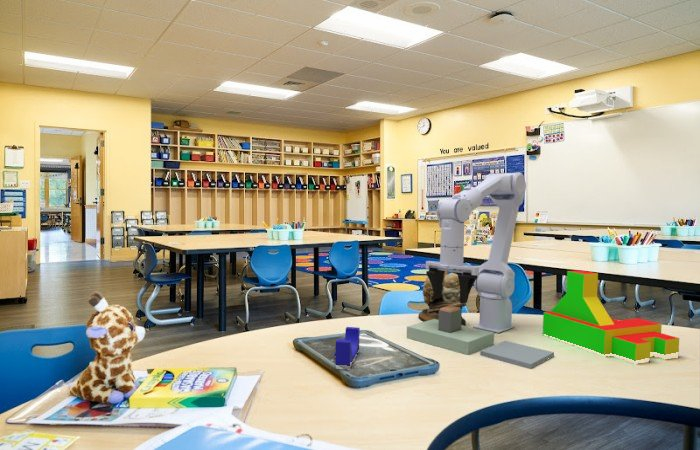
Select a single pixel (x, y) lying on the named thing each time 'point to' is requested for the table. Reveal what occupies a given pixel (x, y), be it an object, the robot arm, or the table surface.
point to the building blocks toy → (602, 323)
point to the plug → (450, 319)
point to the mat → (517, 354)
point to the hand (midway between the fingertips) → (450, 300)
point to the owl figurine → (447, 299)
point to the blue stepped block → (347, 346)
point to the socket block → (451, 337)
